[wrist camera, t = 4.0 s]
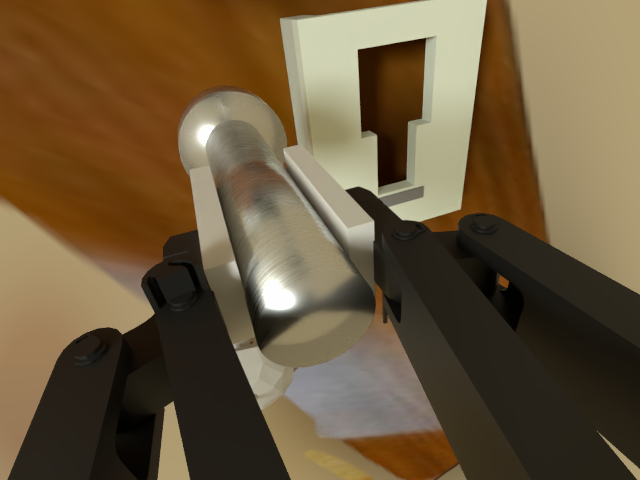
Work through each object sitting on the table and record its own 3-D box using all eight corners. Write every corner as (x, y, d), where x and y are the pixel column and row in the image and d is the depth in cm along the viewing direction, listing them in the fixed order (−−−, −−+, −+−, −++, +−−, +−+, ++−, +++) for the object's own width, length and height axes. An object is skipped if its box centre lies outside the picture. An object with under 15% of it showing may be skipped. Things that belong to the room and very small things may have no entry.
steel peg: (162, 96, 18) (157, 267, 7) (268, 77, 20) (426, 192, 8) (195, 193, 22) (231, 427, 10) (284, 171, 23) (415, 356, 11)
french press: (209, 231, 37) (259, 488, 17) (296, 272, 44) (404, 493, 24) (160, 301, 39) (154, 600, 20) (249, 330, 46) (313, 577, 26)
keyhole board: (279, 18, 30) (297, 20, 26) (449, -7, 33) (489, -9, 29) (309, 226, 41) (325, 250, 37) (434, 191, 44) (461, 210, 40)
